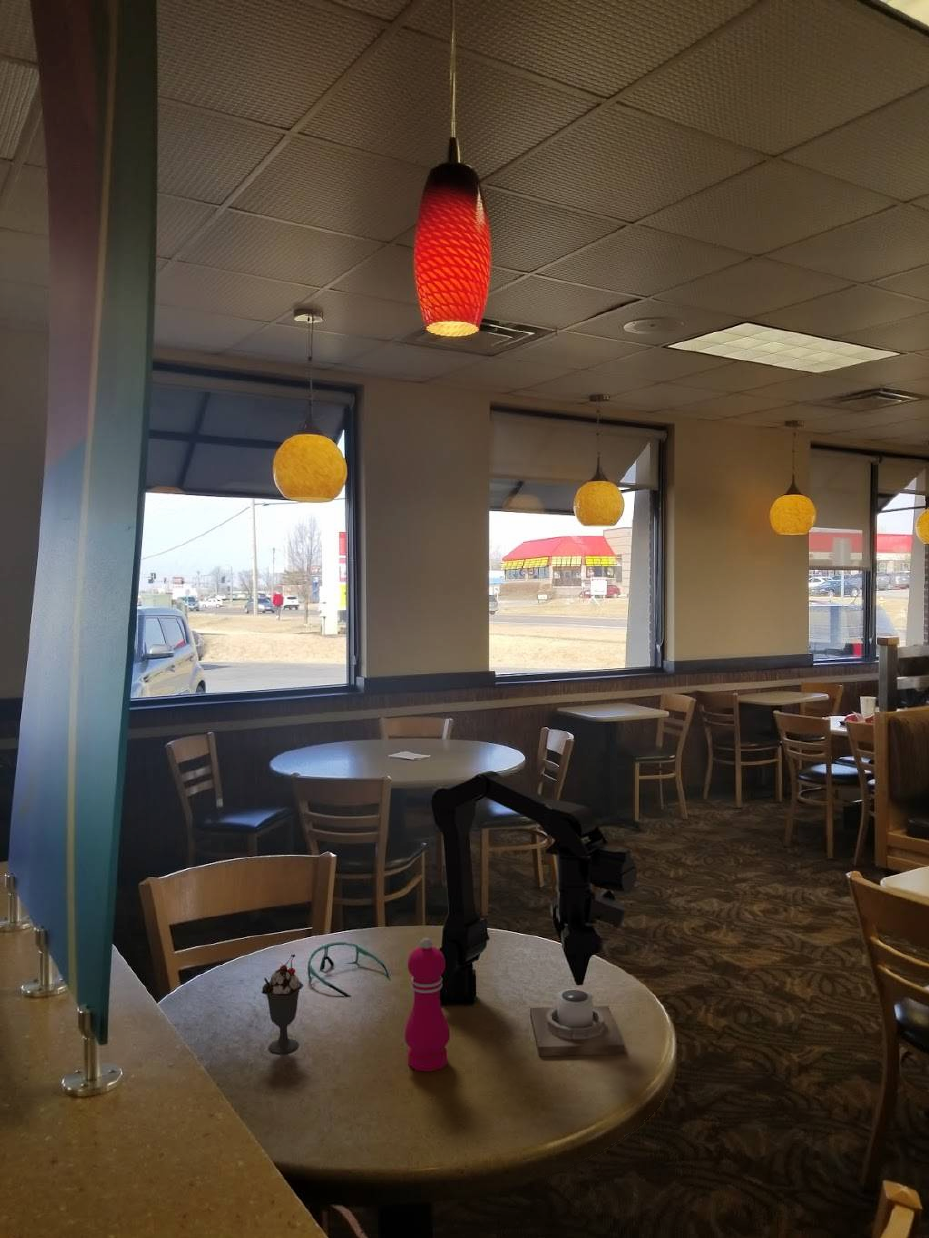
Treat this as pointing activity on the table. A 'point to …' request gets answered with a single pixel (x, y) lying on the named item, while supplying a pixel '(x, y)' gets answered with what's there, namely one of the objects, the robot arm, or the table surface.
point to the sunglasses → (322, 966)
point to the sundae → (283, 1005)
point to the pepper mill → (426, 1010)
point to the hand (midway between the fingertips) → (575, 973)
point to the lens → (574, 1008)
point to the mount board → (575, 1034)
